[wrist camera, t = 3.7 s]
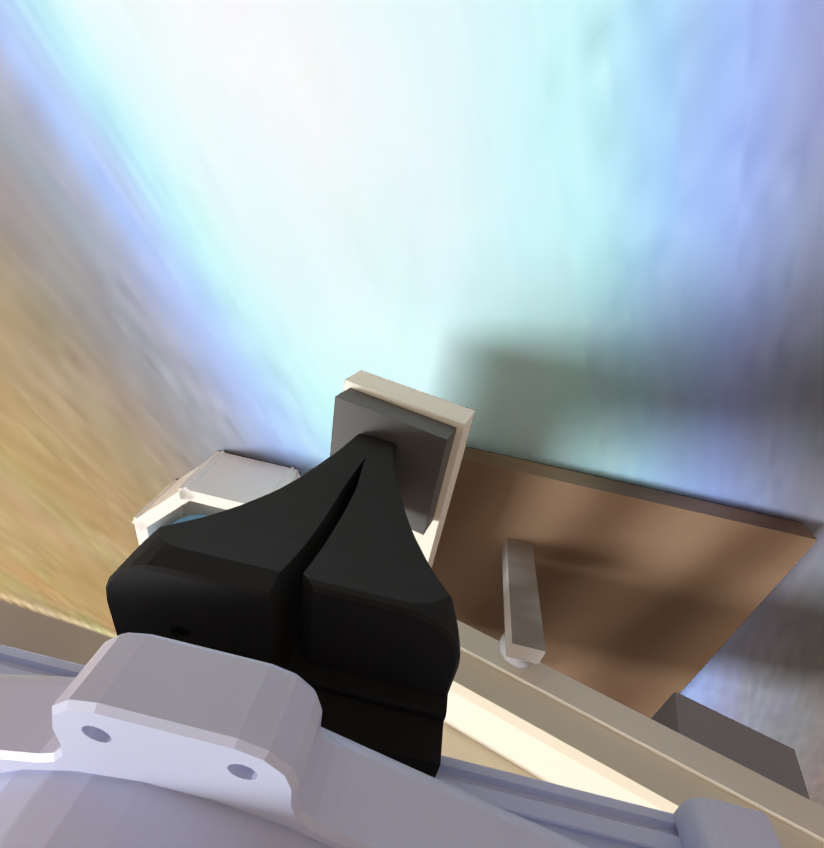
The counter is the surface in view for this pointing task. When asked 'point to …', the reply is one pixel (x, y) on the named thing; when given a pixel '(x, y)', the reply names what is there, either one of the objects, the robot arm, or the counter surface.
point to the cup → (212, 490)
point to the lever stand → (605, 573)
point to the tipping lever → (555, 692)
